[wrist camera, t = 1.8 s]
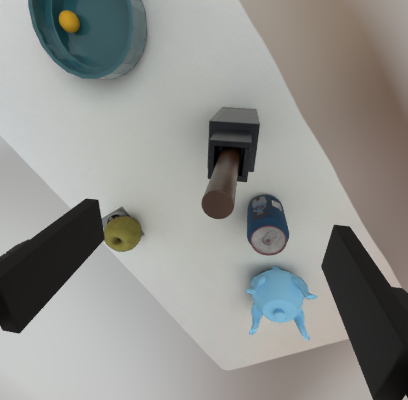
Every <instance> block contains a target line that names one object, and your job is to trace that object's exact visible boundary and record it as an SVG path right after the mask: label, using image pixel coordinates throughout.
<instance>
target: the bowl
mask: <svg viewBox="0 0 408 400" xmlns="http://www.w3.org/2000/svg"><path fill="white" fill-rule="evenodd" d="M28 6H29V11H30V15H31V20H32V24H33V28H34V30H35V32H36V34H37V36H38V39H39V41H40V43H41V45H42V47H43V48H44V49H45V50H46V52H47V53H48V54H49V56H50V57H51V58H52V60H53V61H54V62H55V63H57V64H58V65H59V66H60V67H62V68H63V69H64V70H65V71H67V72H68V73H71V74H73V75H76V76H78V77H81V78H88V79H114V78H117V77H119V76H122V75H125V74H126V73H127V72H128V71H129V70H131V69H132V68H133V67H134V66H135V65H136V63H137V62H138V60H139V58H140V56H141V54H142V52H143V50H144V45H145V40H146V35H147V29H146V14H145V11H144V7H143V4H142V1H141V0H29V1H28ZM64 10H69V11H72V12H73V13H74V14H76V16H77V17H78V19H79V22H80V28H79V30H78V31H77V32H75V33H69V32H67V31H65V30H64V29H63V28H62V27H61V25H60V23H59V15H60V13H61V12H62V11H64Z"/></svg>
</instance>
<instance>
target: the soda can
mask: <svg viewBox="0 0 408 400" xmlns="http://www.w3.org/2000/svg"><path fill="white" fill-rule="evenodd" d="M247 238H248V241H249V243H250V244H251V245H252V247H253V249H254V250H255V251H257V252H258V253H260V254H263V255H275V254H278V253H280V252H281V251H282V250H283V249H284V248H285V246H286V243H287V241H288V239H289V231H288V226H287V222H286V218H285V214H284V210H283V207H282V204H281V202H280V201H279V200H278V199H277V198H275V197H273V196H270V195H261V196H258V197H256V198H254V199H253V200H252V201H251V202H250V204H249V206H248V213H247Z"/></svg>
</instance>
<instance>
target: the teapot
mask: <svg viewBox="0 0 408 400" xmlns="http://www.w3.org/2000/svg"><path fill="white" fill-rule="evenodd" d="M246 292H247V293H249V294H252V298H253V301H254V303H253V306H252V328H251V330H250V332H249V334H250V335H252V334H254V333H255V332H256V330H257V328H258V326H259V322H260V318H261V316H262V314H263V315H264V316H265V317H266V318H268V319H269V320H271V321H274V322H280V323H281V322H287V321H290V320H292V319H294V321H295V323H296V325H297V327H298V329H299V331H300V332H301V334H302V336H303V337H304V338H305V339H306V340H310V338H309V335H308V334H307V332H306V329H305V324H304V313H303V310H302V308H301V307H302V304H303V300H304V297H305V298H307V299H315V298H317V296H316V295H313V294H310V293H309V291H308V287H307V285H306V283H305V282H304V280H302V279H301V278H299V277H296V276H295V275H293V274H291V273H289V272H287V271H284V270H281V269H280V267H278V266H274V267H273V268H272V270H268V271H265V272H263V273H261V274H259V275H258V276H255V277H254V278H253V279H252V281H251V289H246Z"/></svg>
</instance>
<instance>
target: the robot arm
mask: <svg viewBox="0 0 408 400" xmlns="http://www.w3.org/2000/svg"><path fill="white" fill-rule="evenodd" d="M104 239H105V237H104V231H103V225H102V219H101V214H100V208H99V202H98V200H95V199H85V200H83V201H82V202H81V203H79V204H78V205H77V206H75V207H74V208H73V209H71V210H70V211H69V212H67V213H66V214H64V215H63V216H62V217H60V218H59V219H58V220H56V221H55V222H53V223H52V224H51V225H49V226H48V227H47V228H45V229H44V230H43V231H41V232H40V233H38V234H37V235H36V236H34V237H33V238H32V239H30V240H27V241H24V242H22V243H20V244H18V245H16V246H14V247H13V248H12V249H10V250H9V251H7V252H6V254H3V255H2V256H0V326H1V328H2V330H4V331H9V332H14V333H20V332H21V331H22V330H23V329H24V328H25V327H26V326H27V325H28V323H29V322H30V321H31V320H32V319H33V318H34V317H35V316H36V314H38V312H39V311H40V310H41V309H42V308H43V307H44V306H45V305H46V303H47V302H48V301H49V300H50V299H51V298H52V297H53V296H54V294H56V292H57V291H58V290H59V289H60V288H61V287H62V286H63V285H64V283H65V282H66V281H67V280H68V279H69V278H70V277H71V276H72V275H73V273H74V272H75V271H76V270H77V269H78V268H79V267H80V266H81V265H82V264H83V263H84V261H85V260H86V259H87V258H88V257H89V256H90V255H91V254H92V253H93V251H94V250H95V249H96V248H97V247H98V246H99V245H100V244H101V243H102V241H103V240H104ZM321 267H322V269H323V272H324V275H325V277H326V280H327V282H328V285H329V287H330V290H331V293H332V295H333V298H334V300H335V303H336V305H337V308H338V311H339V313H340V316H341V318H342V321H343V323H344V326H345V329H346V331H347V334H348V336H349V339H350V341H351V344H352V346H353V349H354V351H355V354H356V357H357V359H358V362H359V365H360V367H361V370H362V372H363V375H364V377H365V380H366V383H367V385H368V387H369V390H370V393H371V395H372V398H373V400H402V399H403V398H404V396H405V395H406V396H407V398H408V293H407V292H406V291H405V290H404V289H402V288H395V287H391V286H390V284H389V283H388V282H387V280H386V279H385V277H384V276H383V274H382V273H381V271H380V270H379V268H378V267H377V266H376V264H375V263H374V261H373V260H372V258H371V257H370V255H369V254H368V252H367V251H366V250H365V248H364V247H363V245H362V244H361V242H360V241H359V239H358V238H357V236H356V235H355V234H354V232H353V231H352V229H351V228H350V227H349V226H340V225H334V227H333V230H332V233H331V236H330V240H329V243H328V246H327V249H326V253H325V256H324V259H323V263H322V266H321Z"/></svg>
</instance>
